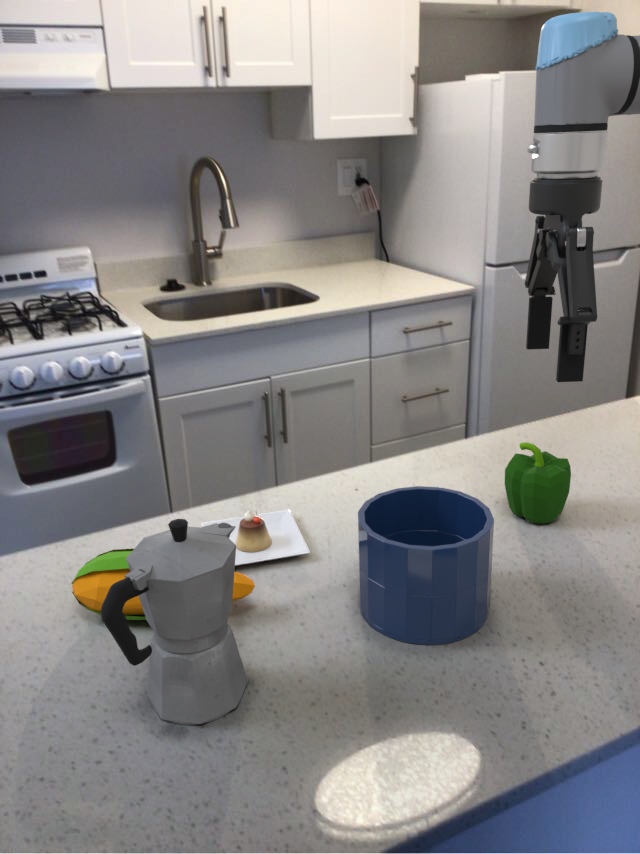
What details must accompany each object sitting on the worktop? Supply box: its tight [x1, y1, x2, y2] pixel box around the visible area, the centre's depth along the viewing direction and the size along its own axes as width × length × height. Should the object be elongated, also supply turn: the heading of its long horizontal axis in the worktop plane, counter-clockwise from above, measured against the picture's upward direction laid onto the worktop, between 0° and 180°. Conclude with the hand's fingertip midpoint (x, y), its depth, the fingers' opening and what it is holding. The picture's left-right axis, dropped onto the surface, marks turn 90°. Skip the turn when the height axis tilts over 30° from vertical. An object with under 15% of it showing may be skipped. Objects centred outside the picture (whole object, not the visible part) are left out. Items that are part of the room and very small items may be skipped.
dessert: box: [200, 508, 311, 567], centre depth 95 cm, size 12×12×5 cm
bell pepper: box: [504, 441, 572, 525], centre depth 98 cm, size 8×8×10 cm
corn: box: [70, 547, 256, 621], centre depth 82 cm, size 7×8×20 cm
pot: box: [357, 485, 495, 646], centre depth 80 cm, size 14×14×11 cm
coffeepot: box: [100, 518, 249, 726], centre depth 67 cm, size 15×9×18 cm, turn 145°
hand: (552, 363), depth 90 cm, fingers open, 13 cm apart
